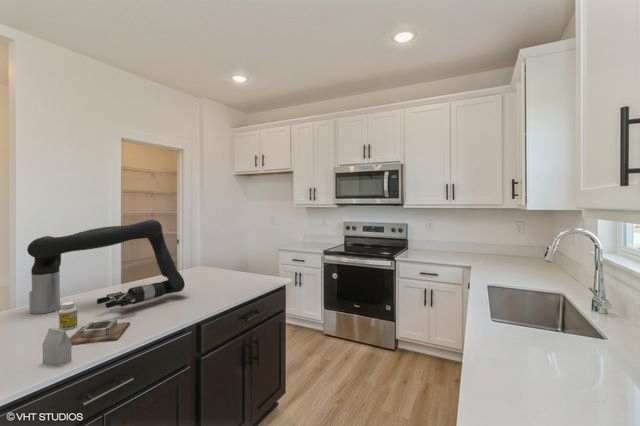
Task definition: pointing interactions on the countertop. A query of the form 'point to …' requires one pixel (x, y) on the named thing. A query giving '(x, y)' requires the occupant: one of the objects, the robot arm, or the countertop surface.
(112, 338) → the holder board
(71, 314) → the supplement bottle
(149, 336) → the countertop surface
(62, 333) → the grey gable-top carton
